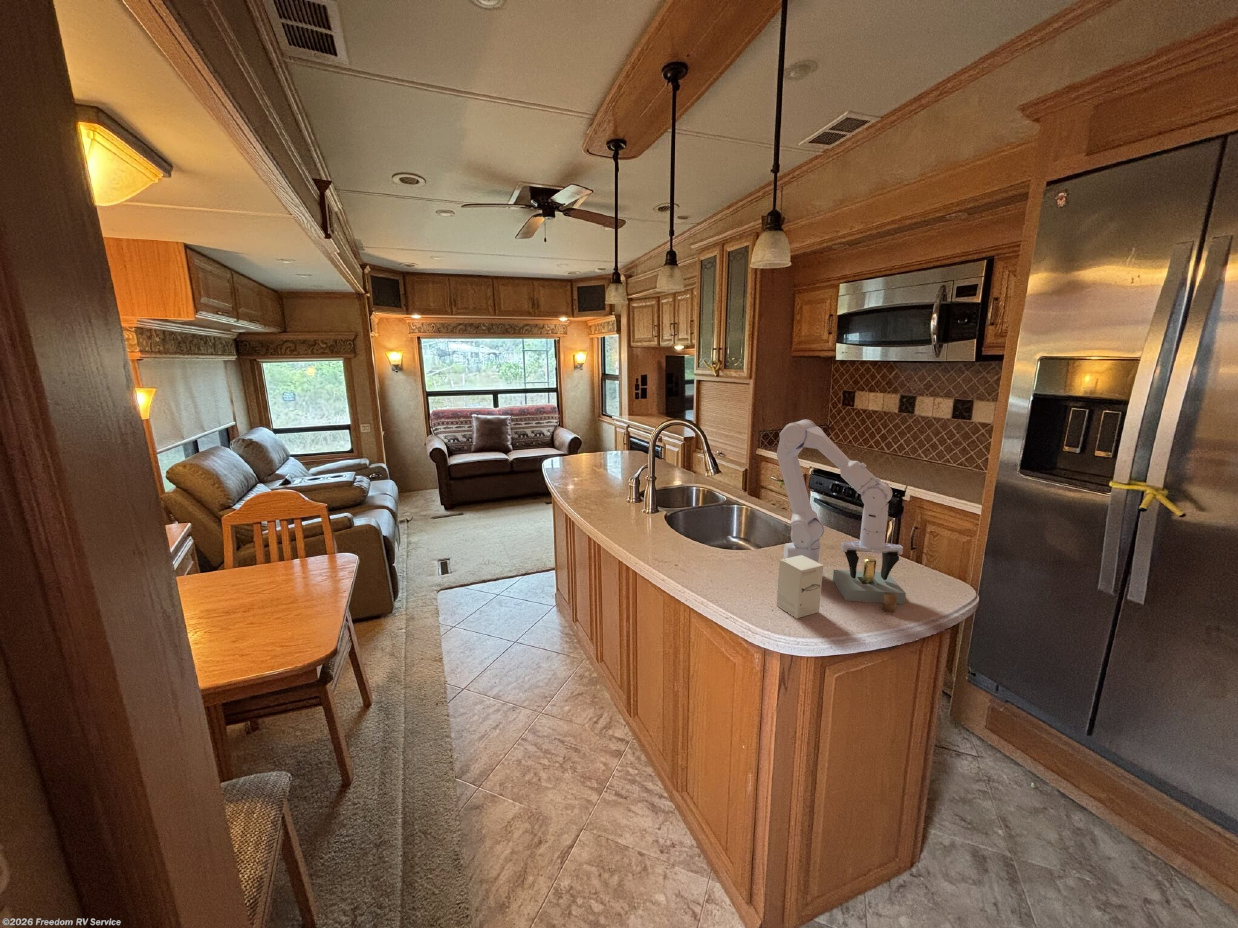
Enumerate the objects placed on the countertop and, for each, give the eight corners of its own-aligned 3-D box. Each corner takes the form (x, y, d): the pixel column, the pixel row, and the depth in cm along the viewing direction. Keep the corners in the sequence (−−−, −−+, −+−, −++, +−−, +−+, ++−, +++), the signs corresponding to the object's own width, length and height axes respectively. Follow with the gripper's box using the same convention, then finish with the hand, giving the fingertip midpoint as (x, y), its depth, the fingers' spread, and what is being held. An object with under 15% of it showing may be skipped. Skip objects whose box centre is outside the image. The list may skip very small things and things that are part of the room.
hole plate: (845, 600, 124) (846, 589, 123) (832, 579, 136) (833, 569, 135) (904, 603, 122) (905, 593, 121) (886, 582, 134) (887, 572, 133)
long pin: (862, 593, 128) (865, 561, 126) (859, 588, 130) (863, 557, 128) (873, 594, 127) (877, 562, 125) (871, 589, 130) (874, 558, 128)
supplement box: (796, 619, 116) (800, 570, 113) (775, 605, 122) (778, 558, 119) (820, 612, 118) (824, 564, 116) (798, 599, 125) (801, 553, 122)
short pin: (884, 612, 118) (886, 597, 117) (880, 606, 121) (882, 591, 120) (896, 613, 118) (898, 598, 117) (892, 607, 121) (894, 592, 120)
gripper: (848, 533, 122) (843, 582, 125) (910, 535, 120) (904, 586, 123) (840, 523, 129) (835, 571, 132) (898, 525, 127) (893, 573, 130)
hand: (868, 577), depth 128 cm, fingers open, 7 cm apart
